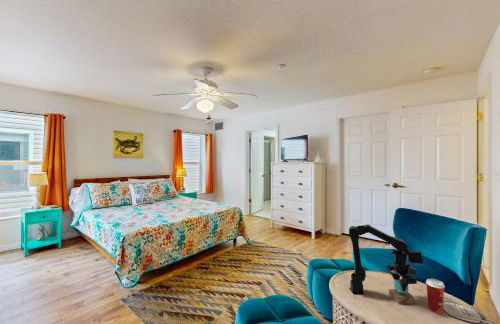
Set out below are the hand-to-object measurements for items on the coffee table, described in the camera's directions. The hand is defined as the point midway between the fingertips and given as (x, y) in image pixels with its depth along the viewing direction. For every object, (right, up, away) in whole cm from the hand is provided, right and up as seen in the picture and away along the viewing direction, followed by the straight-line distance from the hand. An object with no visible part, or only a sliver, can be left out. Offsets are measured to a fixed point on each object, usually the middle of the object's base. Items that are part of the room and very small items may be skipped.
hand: (401, 288), depth 137 cm
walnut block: (0, -7, 0) cm, 7 cm away
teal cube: (0, -1, 0) cm, 1 cm away
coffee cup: (+12, -6, -10) cm, 17 cm away
